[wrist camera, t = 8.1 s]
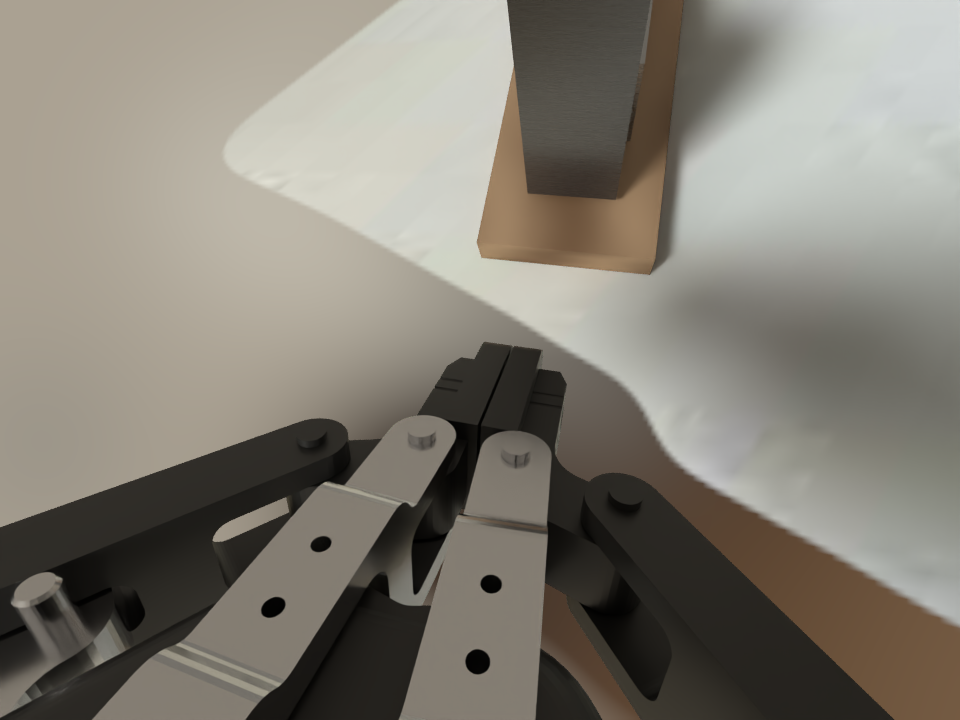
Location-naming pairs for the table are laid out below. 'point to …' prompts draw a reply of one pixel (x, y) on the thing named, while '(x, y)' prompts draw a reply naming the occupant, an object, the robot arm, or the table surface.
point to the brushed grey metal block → (576, 90)
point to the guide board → (588, 221)
